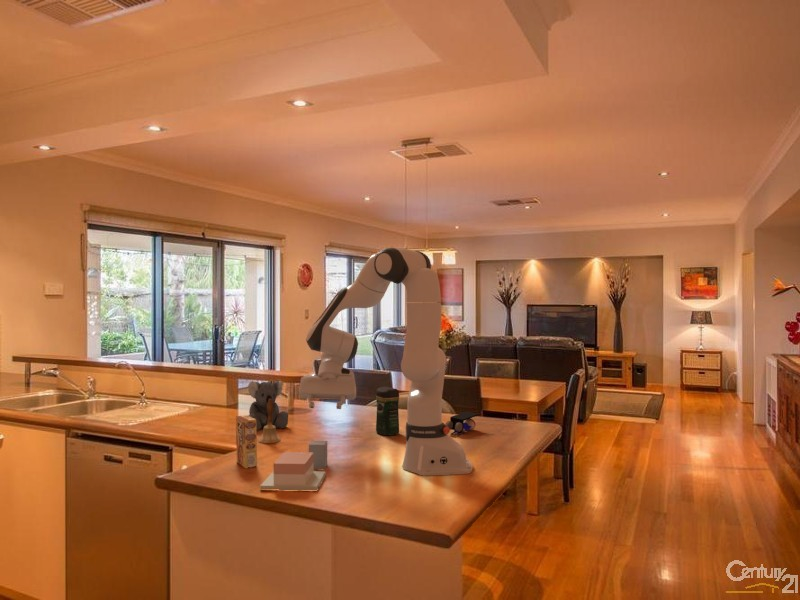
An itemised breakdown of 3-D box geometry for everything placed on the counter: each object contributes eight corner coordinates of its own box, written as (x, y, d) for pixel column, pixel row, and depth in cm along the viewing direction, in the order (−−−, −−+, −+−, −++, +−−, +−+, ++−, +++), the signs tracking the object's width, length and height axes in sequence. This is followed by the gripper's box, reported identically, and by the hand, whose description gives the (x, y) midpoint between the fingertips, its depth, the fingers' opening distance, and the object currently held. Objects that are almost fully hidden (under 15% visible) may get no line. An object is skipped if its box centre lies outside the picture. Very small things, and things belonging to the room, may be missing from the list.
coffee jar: (402, 434, 228) (402, 387, 228) (385, 437, 223) (385, 389, 223) (389, 429, 236) (389, 384, 235) (372, 432, 231) (372, 386, 231)
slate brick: (327, 465, 186) (327, 440, 186) (324, 470, 181) (324, 444, 181) (312, 465, 186) (312, 440, 186) (308, 469, 181) (308, 444, 181)
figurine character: (459, 441, 223) (479, 429, 235) (458, 422, 222) (478, 411, 234) (445, 438, 228) (465, 427, 239) (443, 419, 227) (464, 409, 238)
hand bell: (273, 437, 223) (273, 396, 223) (284, 440, 217) (284, 398, 217) (254, 440, 217) (254, 398, 217) (265, 444, 212) (265, 401, 212)
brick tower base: (325, 476, 174) (325, 451, 174) (316, 491, 160) (316, 465, 160) (273, 475, 175) (273, 451, 175) (260, 490, 161) (260, 464, 161)
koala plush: (247, 432, 231) (247, 384, 231) (240, 423, 248) (240, 378, 247) (290, 428, 238) (290, 381, 238) (280, 420, 255) (280, 376, 255)
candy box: (257, 466, 184) (257, 419, 184) (244, 469, 182) (244, 420, 182) (247, 460, 191) (247, 414, 191) (235, 462, 189) (235, 416, 189)
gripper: (300, 369, 205) (293, 401, 195) (357, 370, 204) (353, 403, 194) (303, 379, 209) (296, 412, 199) (358, 381, 208) (354, 413, 198)
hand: (325, 407), depth 197 cm, fingers open, 8 cm apart
